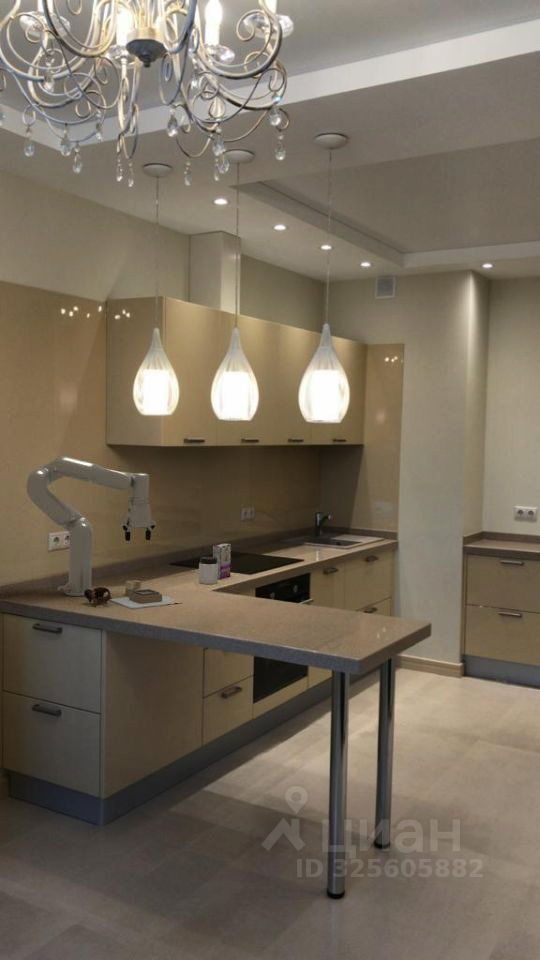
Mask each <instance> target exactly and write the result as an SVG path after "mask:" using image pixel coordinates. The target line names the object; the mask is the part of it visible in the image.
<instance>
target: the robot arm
mask: <svg viewBox="0 0 540 960" xmlns="http://www.w3.org/2000/svg"><path fill="white" fill-rule="evenodd" d="M65 477H66V478H71V479H74V480H78V481H82V482H86V483H91V484H94V485H100V486H102V487H103V486H104V487H106V488H111V489H113V490H114V489H115V490H118V491H119V490H120V491H126V490H127V489H131V491H130V494H131V495H130V498H128V500H127V501H128V502H129V503H130V504H129V505H128V509H127V515H126V517H125V518H123V520H120V521H119V524H120V526H121V528H122V529H123V530H124V539H125V541H128V542H130V541H131V530H132V528H134V529H135V528H137V529H138V528H139V529H140V528H145V529H146V530H145V538H144V539H145V540H146V541H151V536H152V532H153V529H155V527H156V525H157V520H156V519H153V518H152V511H151V505H150V504H149V493H150V492H149V490H150V475H149V474H148V473H145V472H144V473H143V472H136V473H135V472H133V473H132V472H129V471H128V472H127V471H117V470H114V469H113V470H112V469H110V468H106V467H103V466H100V465H98V464H97V463H94V462H90V461H85V460H81V459H78V458H75V457H70V456H68V455H61V456H58V457H57V458H55V459H53V460H52V461H50V462H48V463H46V464H44V465H42V466H40V467H38V468H35V469H34V470H32V471H31V472H30V473H29V475H28V478H27V481H26V484H25V485H26V486H25V487H26V494H27V495H28V498H29V500H30V501H31V502H32V503H33V504H34V505H35V506H36V507H37V508H38V509H40V510H41V511H42V512H43V513H44V515H46V516H47V517H48V518H49V519H50V520H52V522H53V523H54V524H56V525H57V526H59V527H62V528H64V530H65V531H67V532H68V534H69V536H68V537H69V543H68V544H69V550H68V552H69V553H68V555H69V556H68V558H69V561H68V562H69V563H68V582H66V584H65V585H59V586H57V590H58V591H60V592H62V591H64V594H65V595H66V596H70V597H85V595H84V591H85V590H86V589H90V590H93V589H92V571H93V569H92V567H93V557H92V555H93V533H94V528H93V525H92V523H91V522H90V521H89V519H87V518H86V517H85V516H84V515H83V514H82V513H81V512H79V511H78V510H77V509H76V508H75V507H74V506H73V505H71V504H69V503H67V502H63V501H62V500H60V499H59V497H57V496H56V495H55V494H54V493H52V492H51V491H50V490H49V488H48V486H49V485H51V484H53V483H55V482H57V481H59V480H60V479H62V478H65ZM94 593H95V592H94Z"/></svg>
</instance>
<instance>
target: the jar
mask: <svg viewBox="0 0 540 960" xmlns="http://www.w3.org/2000/svg"><path fill="white" fill-rule="evenodd" d="M217 577H218V563H217V558H216V557H213V556H201V557H200V559H199V563H198V583H199V584H203V585H215V584H217V583H218V579H217Z"/></svg>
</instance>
